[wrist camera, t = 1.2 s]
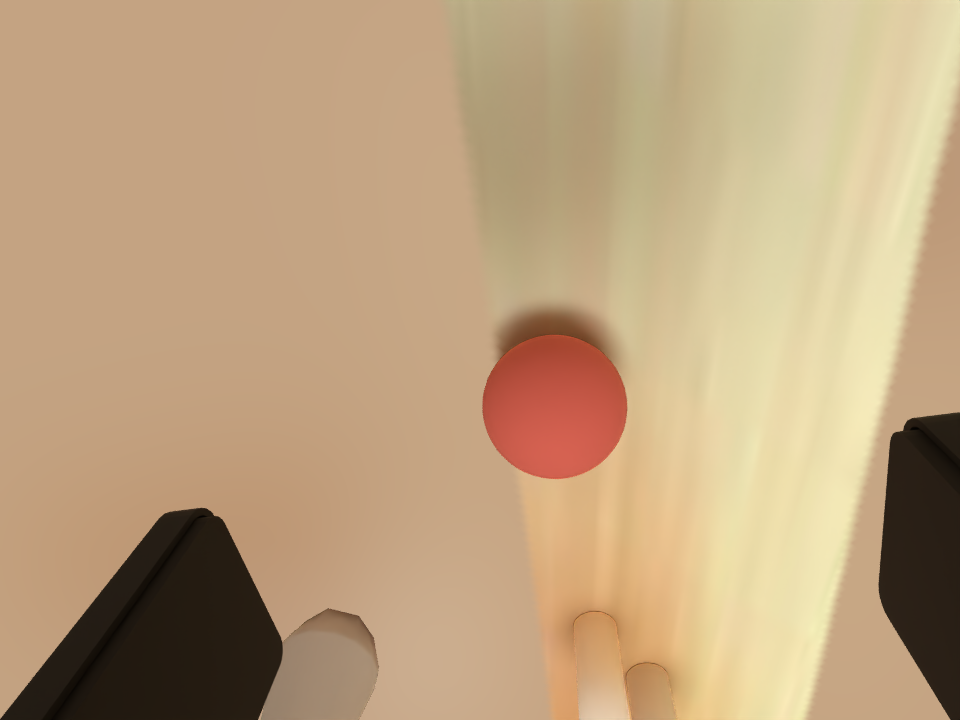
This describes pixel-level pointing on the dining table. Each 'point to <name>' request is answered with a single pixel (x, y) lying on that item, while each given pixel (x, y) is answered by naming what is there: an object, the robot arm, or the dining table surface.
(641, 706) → the pin
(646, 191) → the dining table surface
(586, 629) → the pin
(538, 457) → the ball
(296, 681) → the salt shaker
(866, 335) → the dining table surface
